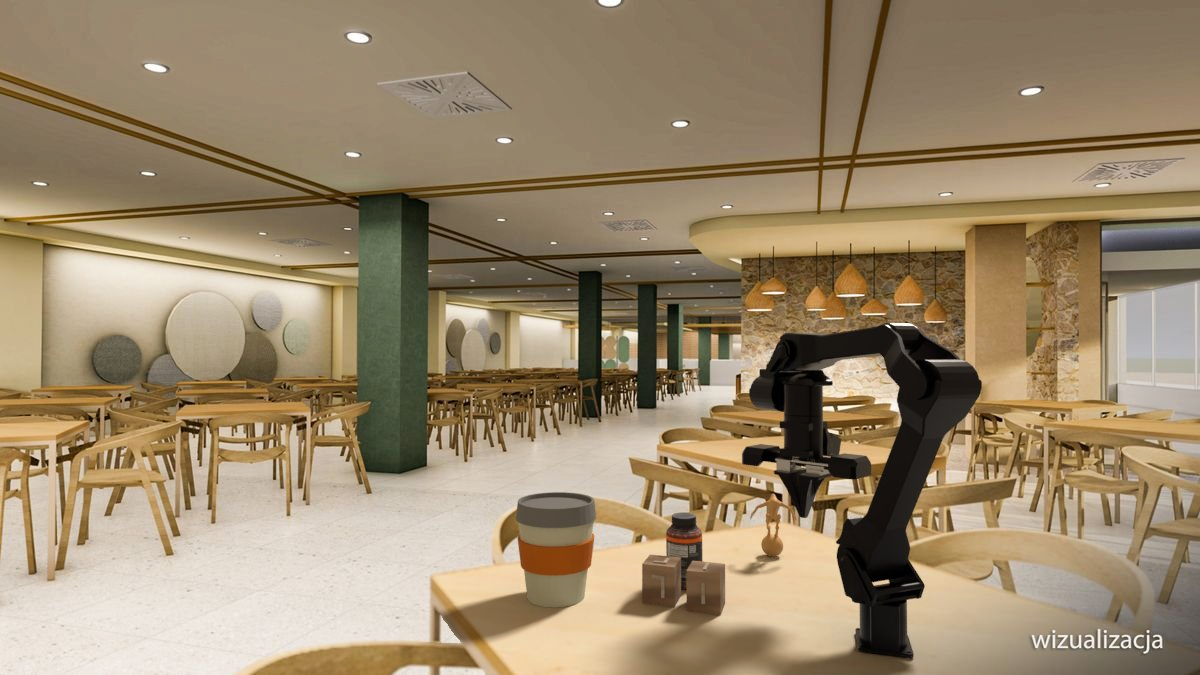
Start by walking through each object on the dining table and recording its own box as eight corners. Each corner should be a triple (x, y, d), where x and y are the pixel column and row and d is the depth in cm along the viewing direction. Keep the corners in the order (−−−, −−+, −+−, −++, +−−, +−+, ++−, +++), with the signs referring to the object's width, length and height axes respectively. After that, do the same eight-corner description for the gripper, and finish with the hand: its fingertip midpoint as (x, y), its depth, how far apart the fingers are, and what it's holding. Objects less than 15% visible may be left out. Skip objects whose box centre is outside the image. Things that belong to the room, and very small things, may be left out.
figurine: (793, 553, 126) (793, 490, 127) (798, 563, 120) (798, 497, 121) (748, 552, 128) (748, 489, 128) (751, 561, 122) (751, 495, 122)
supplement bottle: (679, 575, 114) (678, 508, 114) (709, 582, 110) (709, 514, 111) (659, 584, 110) (659, 515, 110) (690, 592, 106) (690, 521, 106)
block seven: (674, 608, 100) (674, 566, 100) (641, 604, 101) (641, 563, 101) (681, 596, 105) (681, 556, 105) (650, 592, 106) (650, 553, 106)
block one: (720, 616, 96) (720, 573, 97) (686, 612, 98) (686, 569, 98) (725, 603, 101) (725, 562, 102) (692, 599, 103) (692, 559, 103)
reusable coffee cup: (606, 607, 100) (606, 506, 100) (522, 616, 96) (523, 511, 97) (584, 579, 112) (584, 489, 112) (509, 587, 108) (510, 494, 109)
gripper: (886, 415, 101) (887, 519, 101) (776, 408, 114) (776, 499, 114) (854, 420, 93) (854, 533, 93) (739, 412, 106) (740, 510, 106)
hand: (803, 517), depth 102 cm, fingers closed
